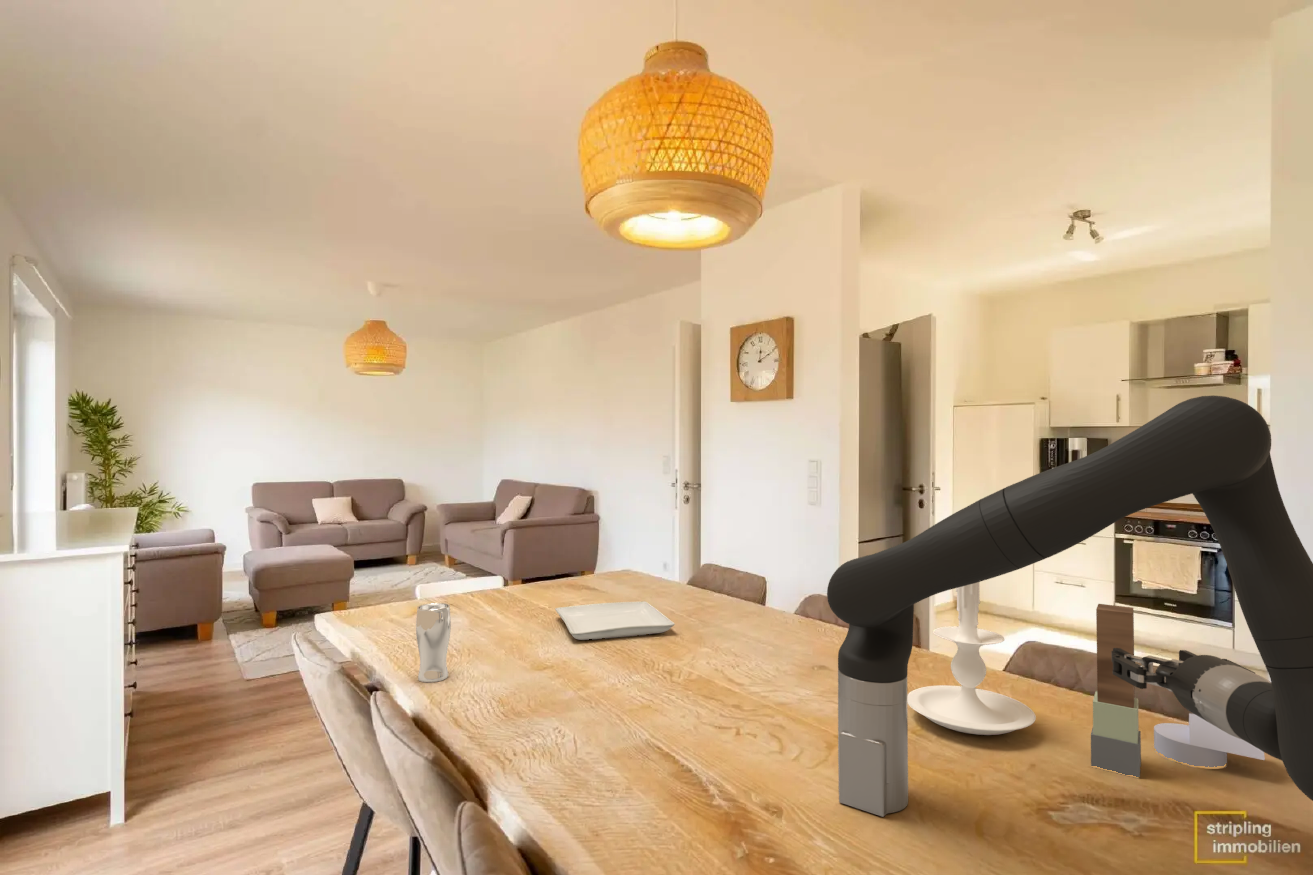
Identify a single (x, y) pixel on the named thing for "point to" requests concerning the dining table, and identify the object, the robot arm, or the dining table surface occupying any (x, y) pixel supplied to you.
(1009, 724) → the candlestick
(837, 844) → the dining table surface
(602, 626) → the square plate
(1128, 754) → the tower base
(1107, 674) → the walnut pillar
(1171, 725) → the wedge on round base
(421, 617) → the beer glass
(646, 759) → the dining table surface
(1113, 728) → the tower top
